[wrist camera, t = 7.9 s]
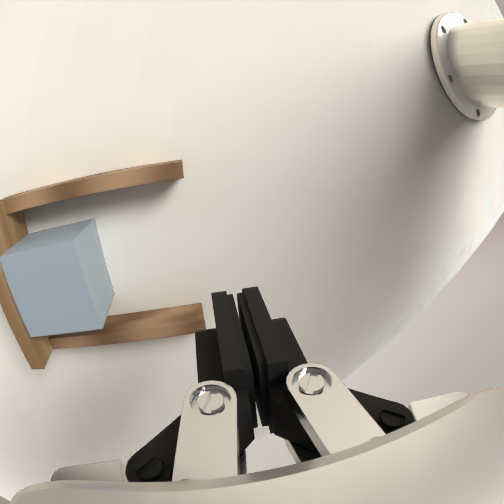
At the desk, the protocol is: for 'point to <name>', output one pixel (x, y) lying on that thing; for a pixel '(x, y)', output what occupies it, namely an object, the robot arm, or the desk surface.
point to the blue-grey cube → (59, 279)
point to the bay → (115, 327)
